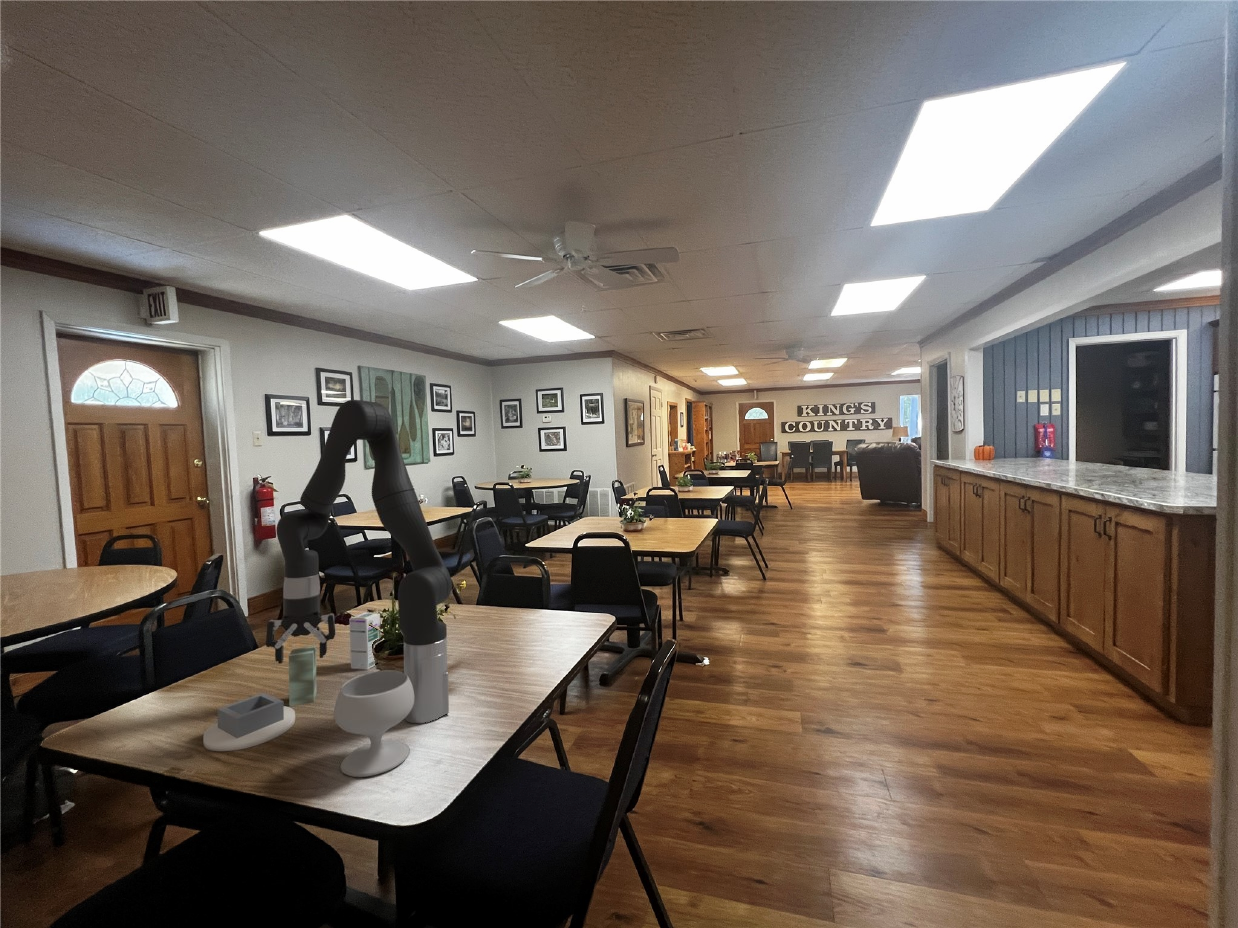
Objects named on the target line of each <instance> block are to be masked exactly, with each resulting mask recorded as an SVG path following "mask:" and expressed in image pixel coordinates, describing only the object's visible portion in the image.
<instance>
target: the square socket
mask: <svg viewBox="0 0 1238 928" xmlns="http://www.w3.org/2000/svg"><path fill="white" fill-rule="evenodd" d="M295 722H296V712H295V709H293V708H291V706H285V705H284V701H283V700H282V699H280V698H277V697H275V696H272V695H270V694H269V693H266V692H261V693H257V694H256V695H253V696H250V697H246V698H244V699H242V700H238V701H236V702H233V703H231V704H227V705H225V706H222V707H219V708H217V722H215V723H214V724H212V725H210V727H208V728H207V729H206V730H205V732H204V733H203V737H202V738H203V740H202V742H203V747H204V748H205V749H206V750H209V751H214V752H233V751H238V750H244V749H249V748H251V747H255V746H258V745H261V744H263V743H266V742H269V741H271V740H274V739H276V738H277V737H279V736H281V735H283V734H284V733H286V732H288V731H289V730H290V729H291V728H292V727H293V726H294V724H295Z"/></svg>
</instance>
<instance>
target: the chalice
mask: <svg viewBox="0 0 1238 928" xmlns="http://www.w3.org/2000/svg"><path fill="white" fill-rule="evenodd" d="M334 704H335V705H334V710H333V715H334V720H335V722H336V725H337V726H339V727H340V728H341V730H343V731H344V732H348V733H350V734H354V735H362V736H366V737H367V738H368V739H369V741H370V742H369V743H367V744H364V745H362V746H360V747H358V748H356V749H354V750H352V751H350V753H349V754H348V755H346V756H345V757H344V758H343V760H342V761H341V764H340V771H342V773H343V774H345V775H346V776H349V777H355V778H362V777H371V776H377V775H380V774H383V773H386V772H389V771H390V770H393V769H395V768H396V767H398V766H399V765H401V764H403V762H404V761H406V759H407V758H409V755H410V753H411V748H410V746H409V745H408V744H407V743H406V742H404V741H401V740H397V739H384V740H382V737H383V736H384V734H385V733H386V732H387V731H388V730H389V729H391V728H393V727H394V726H396V725H398V724H399V723H401V722H402V721H403V720H404V719H405V717H406V716H407V715H408V714H409V713H410V711H411V709H412V707H413V705H414V690H413V686H412V683H411V681H410V679H409V677H408V676H407V675H406V674H405V673H404V671H403V672H402V671H400V670H395V669H391V670H390V669H388V670H387V669H386V670H376V671H371V672H367V673H364V674H359V675H358V676H355V677H353V678H351V679H349V680H347V681H346V682H345V683H344V684H343V685H342V686H341V688H340V689H339V691H338V693H337V697H336V700H335V703H334Z"/></svg>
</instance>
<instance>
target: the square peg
mask: <svg viewBox="0 0 1238 928" xmlns="http://www.w3.org/2000/svg"><path fill="white" fill-rule="evenodd" d="M288 690H289V691H288V694H289V695H288V698H289V699H288V700H289V702H288V705H289V706H288V707H293V706H294V707H295V706H298V705H303V704H310V703H314V702H315V701H316V700H315V699H316V696H317V692H318V691H317V645H313V646H305V647H299V648H292V649H291V651H290V653H289V655H288Z"/></svg>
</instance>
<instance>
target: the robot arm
mask: <svg viewBox="0 0 1238 928" xmlns="http://www.w3.org/2000/svg"><path fill="white" fill-rule="evenodd" d="M394 424H395V423H394V421H393V418H392V414H391V413H390V411H389V410H388V408H387V407H386V406H385V405H383V404H382V403H379V402H376V401H371V400H370V401H368V400H363V399H362V400H361V399H349V400H346V401H344V402H343V403H342V404H341V405H340V406H339V408H338V409H337V410H336V412H335V415H334V418H333V420H332V423H331V425H330V428H329V432H328V435H327V438H326V441H325V444H324V446H323V449H322V452H321V455H320V458H319V461H318V463H317V466H316V468H315V470H314V472H313V474H312V476H311V477H310V479H309V481H308V483H307V484H306V486H305V488H304V489H303V491H302V494H301V495H300V498H299V499H300V500H299V502H300V504H301V506H302V507H303V508H304V509H306V511H302V512H301V511H300V512H290V513H287V514H284V515H283V516H281V517H280V519H279V520H278V522H277V525H276V530H275V531H276V537H277V540H278V544H279V546H280V549H281V553H282V556H283V559H284V581H283V595H282V596H283V604H282V605H283V617H282V619H279V620H278V619H277V620H276V619H274V618H271V619H270V620H269V621H268V622H267V623H266V624H267V625H266V634H265V635H266V637H265V638H266V639H265V647H267V648H270V647H271V648H274V660H275V662H276V663H278V665H279V664H282V663H283V662H284V647H285V646H284V644H285V642H286V641H287V640H288V639H289V637H290V636H292V637H294V638H297V637H300V636H303V637H304V636H305V637H306V636H309V635H312V636H313V637H315V638H317V640H318V641H319V659H323V658H324V656H326V654H327V652H328V642H329V641H330V640H334V639H335V638H336V637H335V636H336V624H335V623H336V621H335V614H334V613H333V612H331V613H329V614H325V615H324V614H323V615H321V610H320V609H321V608H320V607H321V605H320V598H321V597H320V595H321V594H320V592H321V584H320V575H319V553H318V552H317V551H316V550H313V549H306V548H305V546H304V543H303V541H309V540H316V539H318V538H320V537H321V536H322V535H323V534H324V533H325V532H326V530H327V528H328V527H329V521H330V518H331V513H332V509H333V508H332V507H333V505H334V503H335V502H336V500H337V498H338V497H339V494H340V493H341V492H342V489H343V487H344V484H345V481H346V464H347V463H346V461H347V458H348V455H349V453H350V451H351V449H352V448H353V447H354V446H355V444H356V443H357V441H358V440H359V441H366V443H367V445H368V446H369V449H370V451H371V452H370V453H371V454H372V458H373V461H374V471H373V477H372V485H371V498H372V502H373V505H374V508H375V510H376V513H377V515H378V519H379V521H380V523H381V525H382V526H383V527H384V528H385V530H386V532H388V534H390V536H392V538H393V539H394V540H395V541H396V542H397V543H398V544H399V546H400V547H402V549H403V550H404V552H405V553H406V555H407V557H408V559H409V562H410V565H411V568H412V571H411V572H409V573H408V574H405V576H404V577H402V579H401V580H400V583H399V586H398V590H397V591H398V592H397V608H398V621H399V628H400V631H401V633H402V635H403V673H405V674H406V675H407V676H408V677H409V679H410V681H411V683H412V686H413V690H414V705H413V707H412V709H411V711H410V713H409V714H408V715H407V716H406V717H405V718H404V719H405V721H407V722H409V723H412V724H425V722H426V723H431V722H433V721H432V720H434V721H436V720H435V719H437V720H439V719H440V718H439V717H441V716H443V715H445V714H448V713H449V714H450V711H449V709H450V705H449V703H450V701H449V700H450V699H449V698H450V697H449V691H450V690H449V672H448V647H447V646H448V643H447V642H448V639H447V637H448V634H447V624H446V623H445V622H443V621H440V620H439V619H438V610H437V607H438V605H440V604H442V603H443V602H445V601H446V600H447V599H448V598H449V597H450V596H451V593H452V591H453V590H452V589H453V581H452V578H451V574H450V573H449V570H448V568H447V566H446V564H445V562H444V560H443V558H442V556H441V554H440V553H439V550H438V548H437V546H436V544H435V542H434V540H433V537H432V535H431V531H430V529H429V526H428V524H427V521H426V519H425V516H424V513H423V510H422V508H421V503H420V501H419V499H418V496H417V493H416V491H415V488H414V485H413V482H412V481H411V478H410V475H409V472H408V470H407V466H406V463H405V461H404V458H403V455H402V452H401V448H400V445H399V441H398V436H397V433H396V428H395V425H394ZM322 621H323V622H324V624H325V625H327V631H328V633H327V634H326V633H325V632H324V631H323V629H322V628H321V627H320V626H319V624H320V623H321V622H322ZM280 626H281V627H282V628H283V629H284V630H285V632H284V633H283V634H282V635H281V637H280V638H278V640H275V632H276V630H277V629H278V628H279V627H280ZM445 716H446V715H445ZM443 717H444V716H443ZM438 718H439V719H438ZM441 718H442V717H441ZM430 721H431V722H430Z"/></svg>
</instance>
